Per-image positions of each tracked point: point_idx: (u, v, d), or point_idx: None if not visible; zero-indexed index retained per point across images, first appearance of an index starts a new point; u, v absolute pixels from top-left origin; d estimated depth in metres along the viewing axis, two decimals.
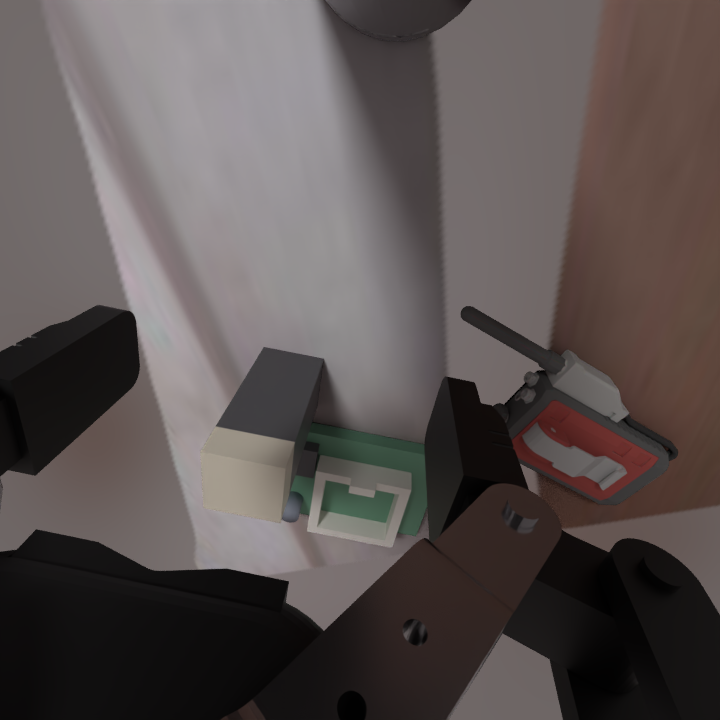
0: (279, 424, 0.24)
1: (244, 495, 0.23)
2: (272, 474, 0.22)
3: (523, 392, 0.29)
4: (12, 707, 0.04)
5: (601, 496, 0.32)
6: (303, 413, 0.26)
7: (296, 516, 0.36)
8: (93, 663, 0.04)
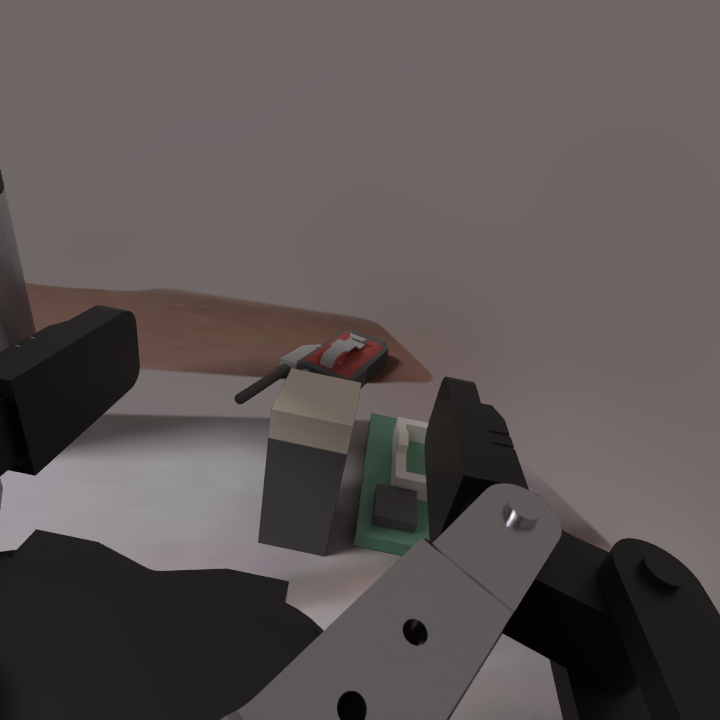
0: None
1: (328, 395, 0.25)
2: (299, 375, 0.26)
3: None
4: (11, 707, 0.04)
5: (378, 346, 0.50)
6: None
7: None
8: (93, 663, 0.04)
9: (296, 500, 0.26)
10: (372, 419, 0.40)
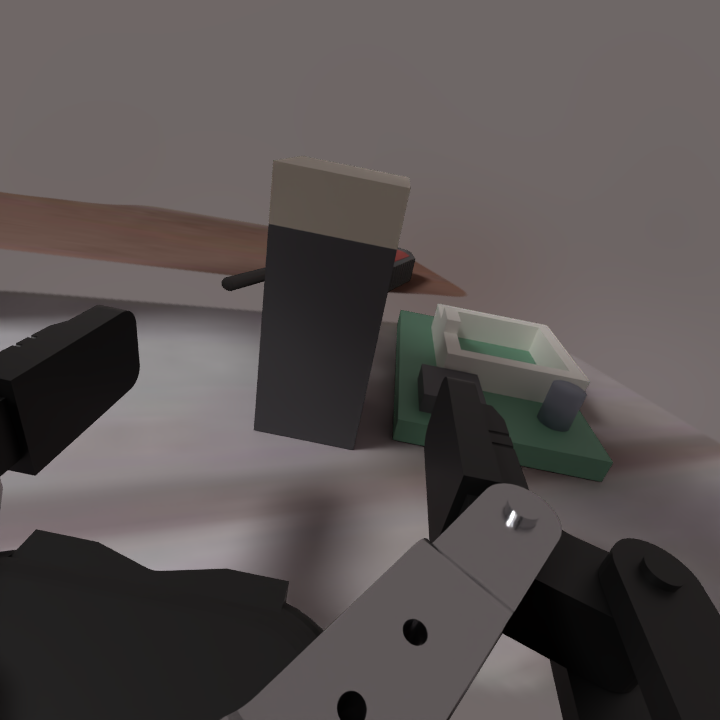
0: None
1: (364, 172, 0.16)
2: (315, 159, 0.17)
3: None
4: (11, 707, 0.04)
5: (403, 253, 0.41)
6: None
7: (561, 381, 0.21)
8: (93, 663, 0.04)
9: (312, 348, 0.17)
10: (402, 315, 0.31)
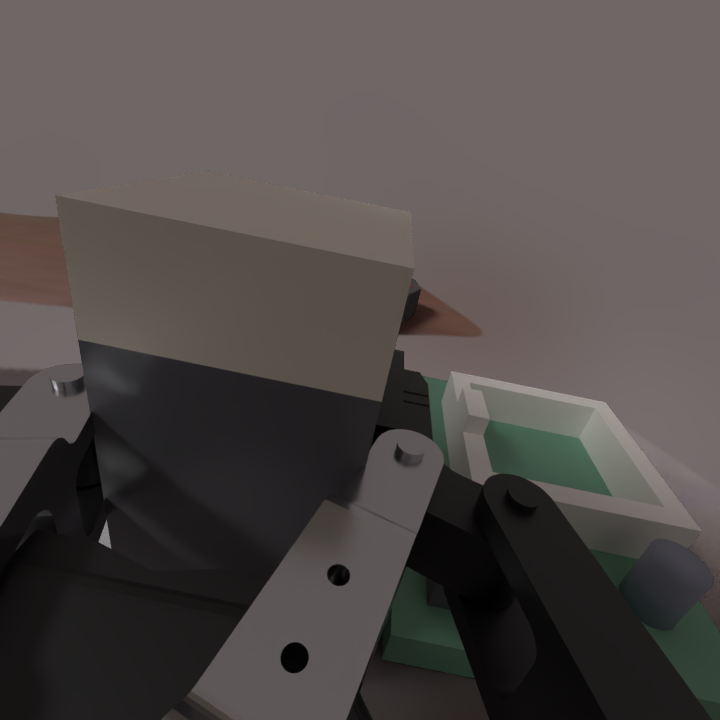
0: None
1: (313, 211, 0.07)
2: (226, 179, 0.09)
3: None
4: (11, 707, 0.04)
5: None
6: None
7: (663, 542, 0.13)
8: (93, 663, 0.04)
9: (215, 561, 0.08)
10: None
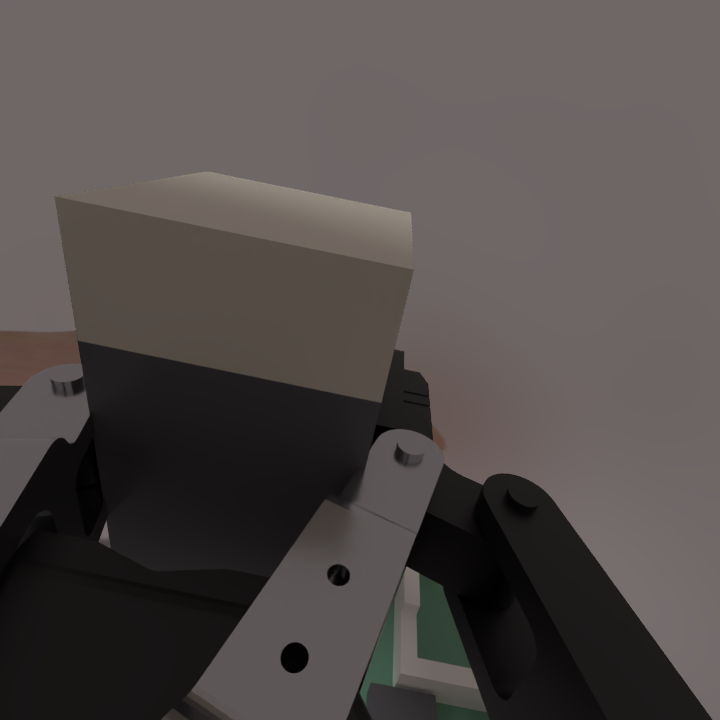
0: None
1: (313, 212, 0.07)
2: (225, 180, 0.09)
3: None
4: (12, 706, 0.04)
5: None
6: None
7: None
8: (93, 663, 0.04)
9: (215, 562, 0.08)
10: None
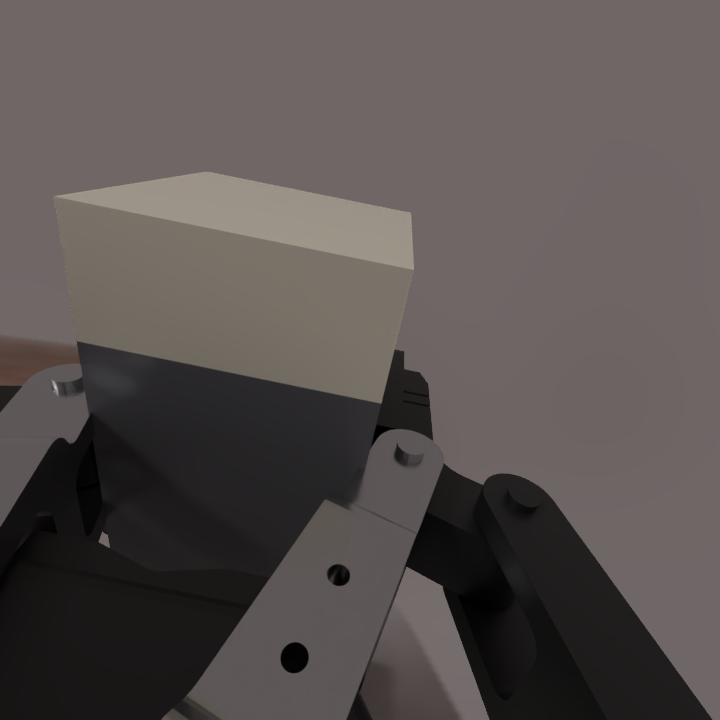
0: None
1: (313, 212, 0.07)
2: (225, 179, 0.09)
3: None
4: (12, 706, 0.04)
5: None
6: None
7: None
8: (93, 663, 0.04)
9: (214, 563, 0.08)
10: None
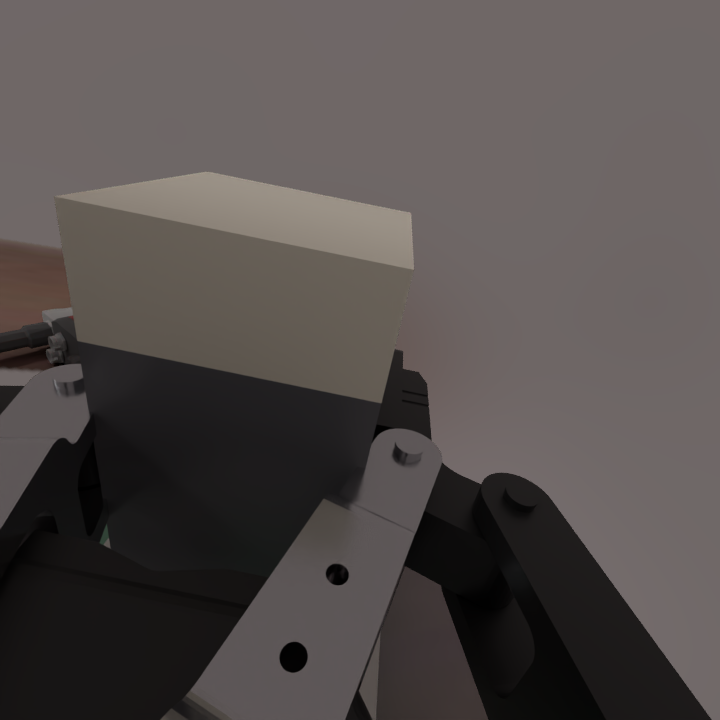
0: None
1: (313, 212, 0.07)
2: (225, 180, 0.09)
3: (56, 350, 0.23)
4: (11, 707, 0.04)
5: None
6: None
7: None
8: (93, 663, 0.04)
9: (214, 563, 0.08)
10: None
